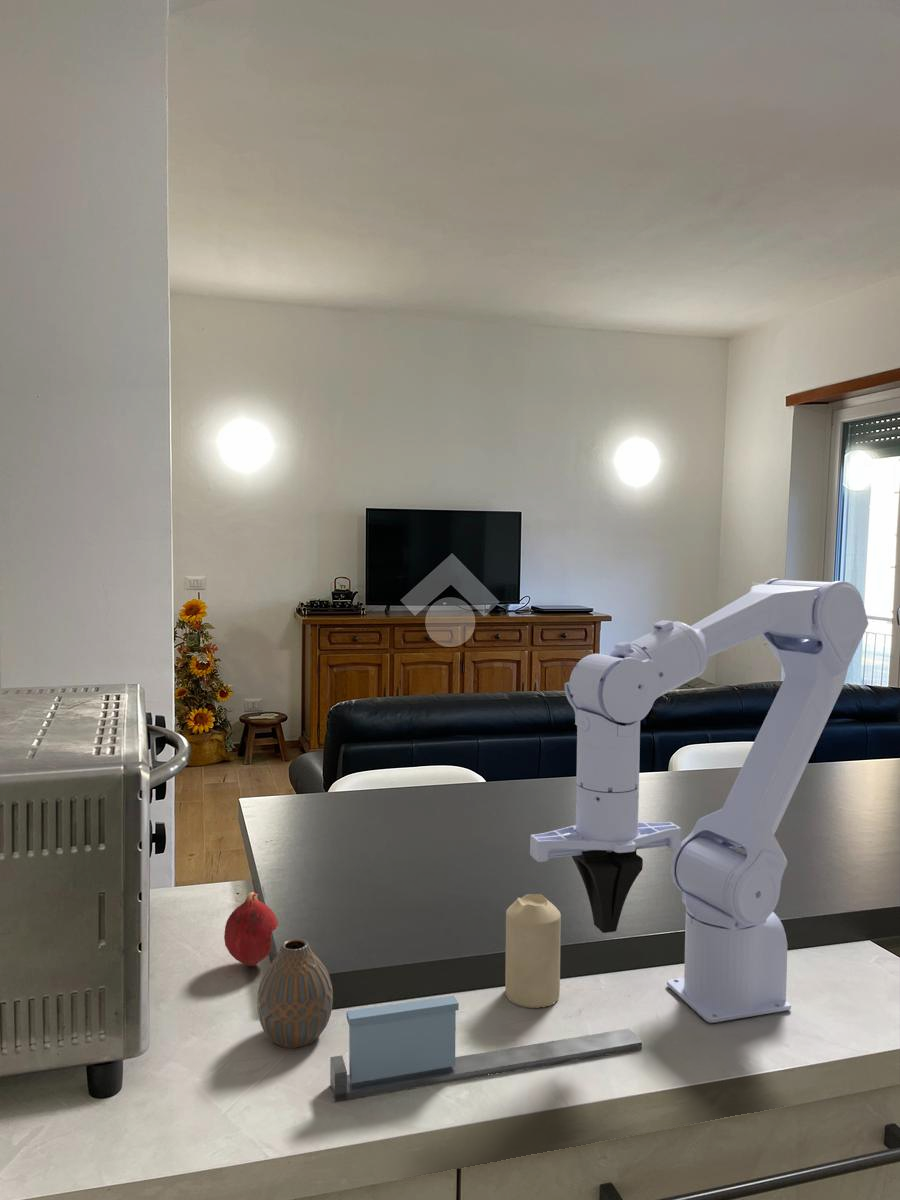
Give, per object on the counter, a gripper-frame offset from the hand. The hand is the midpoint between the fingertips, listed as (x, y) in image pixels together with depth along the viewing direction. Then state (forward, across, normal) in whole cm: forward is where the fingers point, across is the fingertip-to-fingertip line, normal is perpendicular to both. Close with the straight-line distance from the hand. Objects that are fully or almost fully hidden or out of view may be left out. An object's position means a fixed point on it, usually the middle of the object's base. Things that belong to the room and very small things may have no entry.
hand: (605, 927), depth 82 cm
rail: (+10, -12, -2) cm, 16 cm away
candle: (+10, -4, +8) cm, 13 cm away
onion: (+10, -31, +22) cm, 39 cm away
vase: (+10, -28, +7) cm, 31 cm away
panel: (+10, -20, -2) cm, 22 cm away
